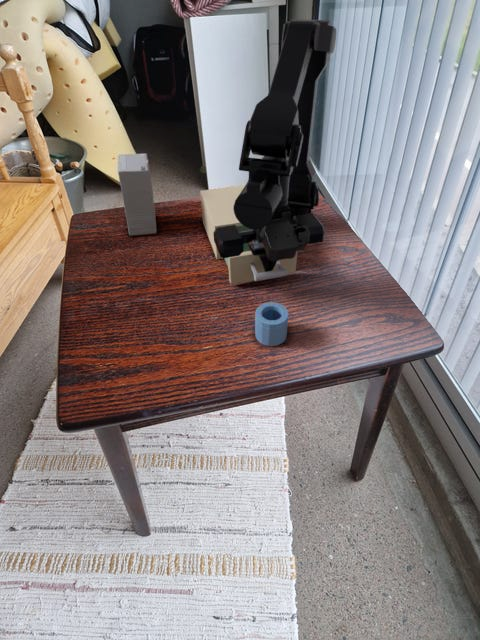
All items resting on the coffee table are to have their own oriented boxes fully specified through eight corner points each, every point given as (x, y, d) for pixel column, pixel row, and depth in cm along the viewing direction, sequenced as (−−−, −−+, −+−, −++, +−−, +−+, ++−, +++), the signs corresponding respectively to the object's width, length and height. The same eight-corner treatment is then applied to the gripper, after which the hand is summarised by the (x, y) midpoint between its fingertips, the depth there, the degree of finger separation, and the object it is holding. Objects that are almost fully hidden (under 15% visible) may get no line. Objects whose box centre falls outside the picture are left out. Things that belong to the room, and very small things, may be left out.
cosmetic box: (128, 218, 102) (114, 154, 91) (158, 215, 103) (147, 150, 92) (128, 237, 96) (113, 170, 85) (160, 234, 97) (148, 167, 86)
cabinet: (282, 248, 92) (284, 215, 86) (216, 259, 89) (214, 226, 84) (261, 213, 103) (262, 182, 97) (202, 222, 100) (199, 190, 94)
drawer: (304, 287, 81) (307, 260, 76) (236, 299, 78) (235, 273, 74) (273, 234, 94) (274, 209, 90) (214, 244, 92) (213, 218, 87)
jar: (280, 321, 75) (282, 299, 72) (290, 342, 72) (293, 321, 68) (251, 326, 74) (251, 305, 71) (260, 349, 71) (261, 327, 67)
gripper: (226, 231, 61) (229, 310, 72) (345, 213, 64) (331, 291, 75) (210, 195, 69) (215, 272, 79) (317, 181, 72) (308, 256, 83)
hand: (267, 273), depth 79 cm, fingers closed, pressing on drawer
